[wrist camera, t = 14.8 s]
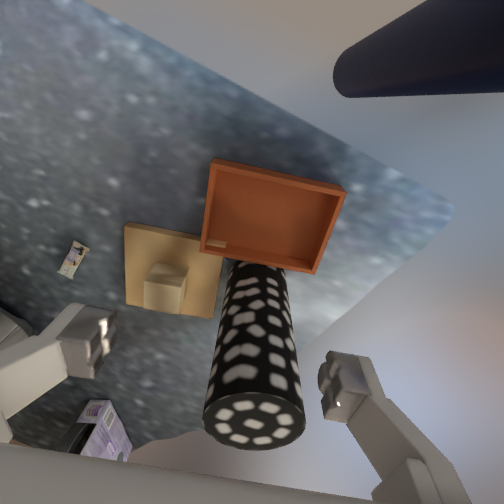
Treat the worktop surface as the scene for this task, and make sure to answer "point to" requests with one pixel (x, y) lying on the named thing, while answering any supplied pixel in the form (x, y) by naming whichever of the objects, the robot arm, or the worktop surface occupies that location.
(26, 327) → the toaster
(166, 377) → the worktop surface
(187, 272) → the block
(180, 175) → the worktop surface
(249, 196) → the orange-brown tray
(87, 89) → the worktop surface
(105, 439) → the cake pan box
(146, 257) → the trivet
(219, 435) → the white-spotted black cylinder
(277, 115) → the worktop surface
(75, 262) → the granola bar
